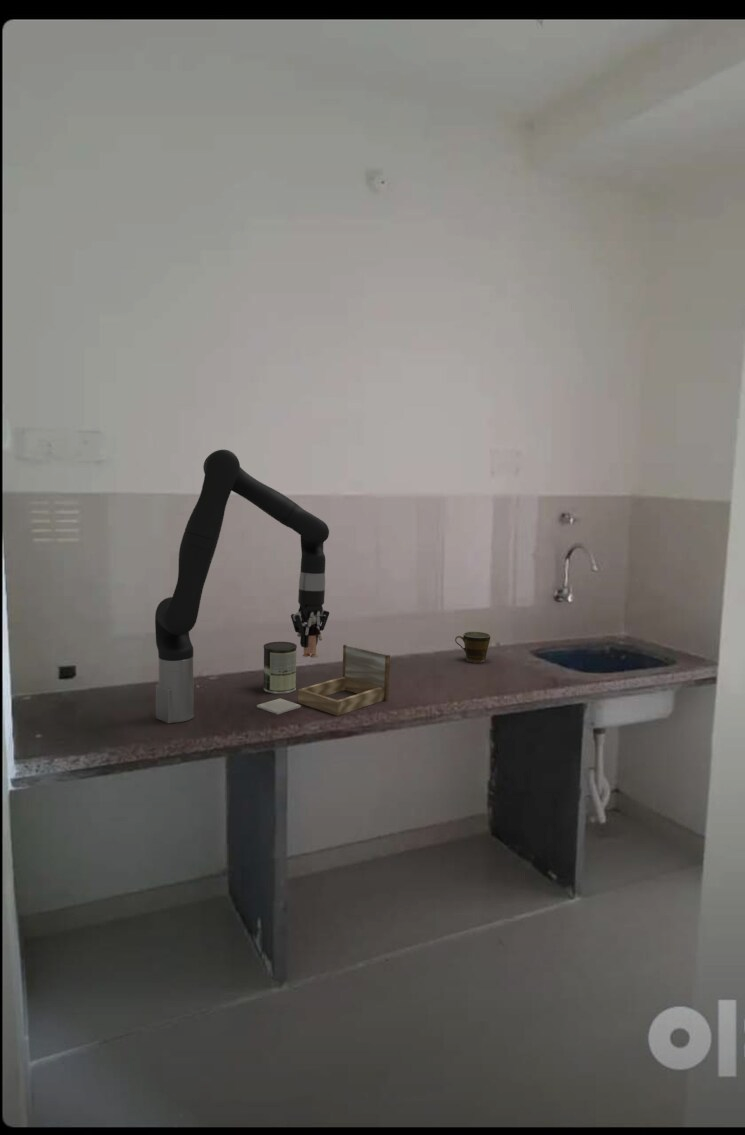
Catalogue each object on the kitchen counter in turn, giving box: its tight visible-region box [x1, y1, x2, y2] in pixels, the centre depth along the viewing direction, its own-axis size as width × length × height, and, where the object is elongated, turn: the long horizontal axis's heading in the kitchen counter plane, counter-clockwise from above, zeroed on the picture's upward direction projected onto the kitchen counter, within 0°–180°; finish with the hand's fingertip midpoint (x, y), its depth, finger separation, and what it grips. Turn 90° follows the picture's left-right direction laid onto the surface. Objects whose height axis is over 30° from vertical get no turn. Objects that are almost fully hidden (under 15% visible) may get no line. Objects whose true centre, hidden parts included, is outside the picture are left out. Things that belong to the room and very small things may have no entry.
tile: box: [256, 697, 302, 715], centre depth 214 cm, size 9×9×1 cm
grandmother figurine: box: [296, 615, 323, 659], centre depth 214 cm, size 8×4×13 cm, turn 84°
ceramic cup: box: [454, 631, 491, 664], centre depth 272 cm, size 13×10×10 cm
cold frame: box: [297, 643, 391, 717], centre depth 221 cm, size 21×18×14 cm
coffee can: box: [262, 641, 298, 695], centre depth 231 cm, size 10×10×14 cm
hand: (308, 646), depth 214 cm, fingers closed on grandmother figurine, 3 cm apart
